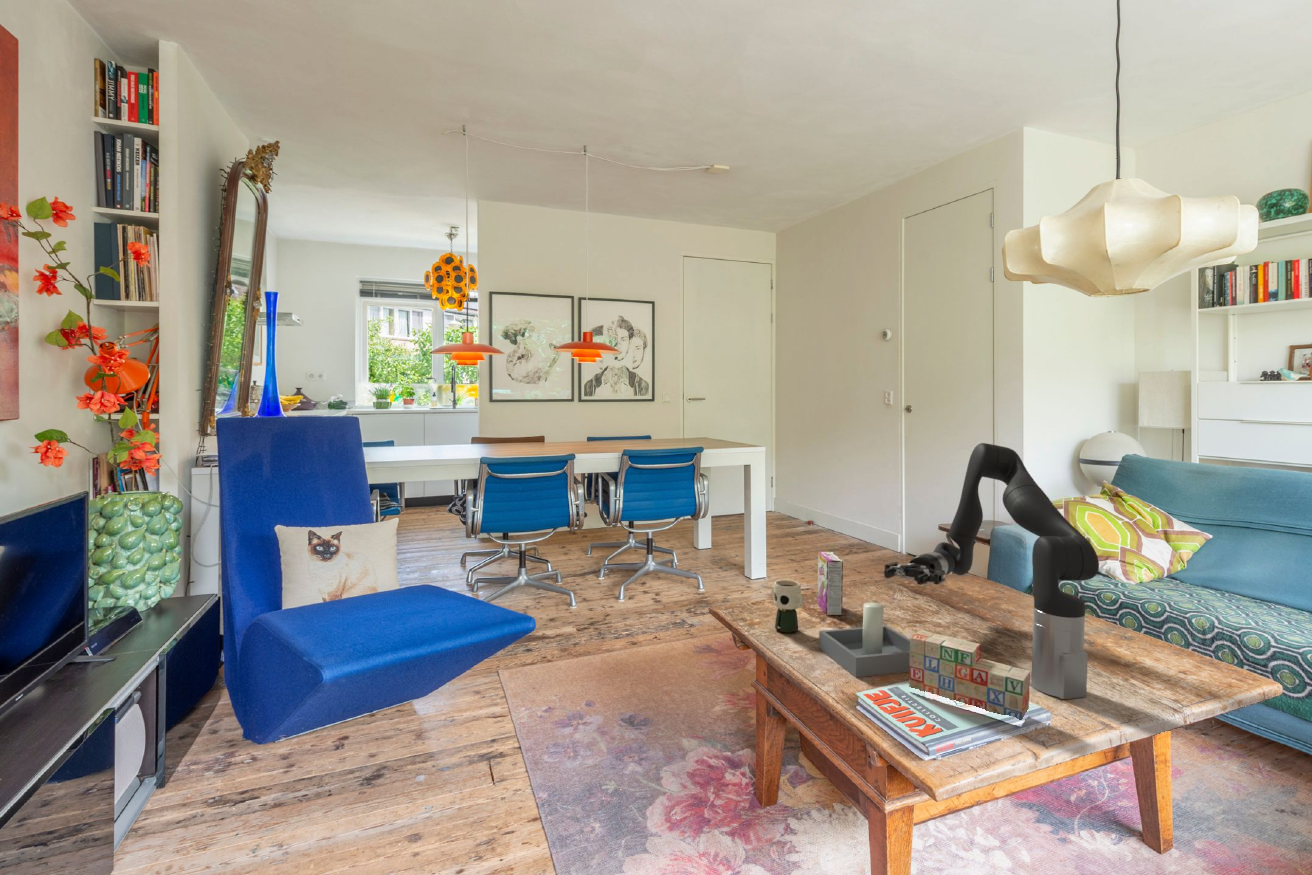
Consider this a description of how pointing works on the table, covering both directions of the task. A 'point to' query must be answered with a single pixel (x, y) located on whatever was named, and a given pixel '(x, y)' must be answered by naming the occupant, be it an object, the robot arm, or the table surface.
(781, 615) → the character mug
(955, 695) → the stack of blocks
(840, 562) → the candy bar box
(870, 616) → the canister
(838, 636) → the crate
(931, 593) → the table surface
